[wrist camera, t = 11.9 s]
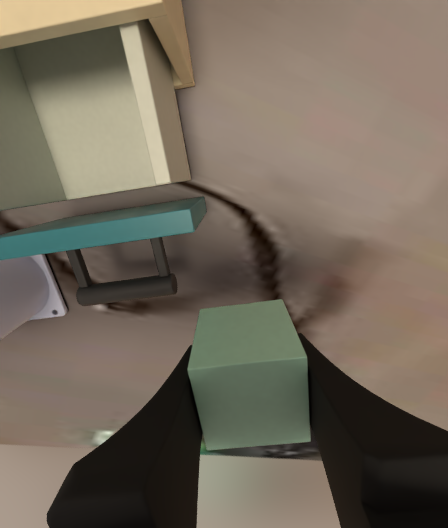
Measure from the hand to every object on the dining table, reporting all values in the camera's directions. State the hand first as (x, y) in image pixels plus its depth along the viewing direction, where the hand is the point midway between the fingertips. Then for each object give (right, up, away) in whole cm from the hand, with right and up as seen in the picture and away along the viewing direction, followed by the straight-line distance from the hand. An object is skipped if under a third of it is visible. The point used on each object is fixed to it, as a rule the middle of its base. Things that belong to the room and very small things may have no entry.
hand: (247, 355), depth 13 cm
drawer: (-9, +12, +6) cm, 16 cm away
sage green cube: (0, 0, +1) cm, 1 cm away
